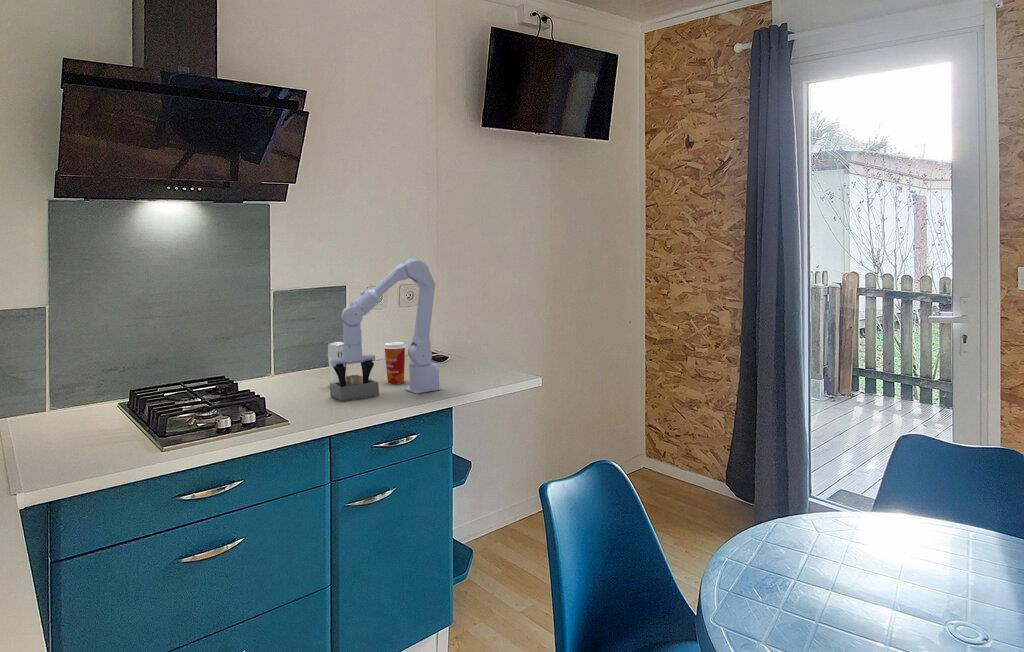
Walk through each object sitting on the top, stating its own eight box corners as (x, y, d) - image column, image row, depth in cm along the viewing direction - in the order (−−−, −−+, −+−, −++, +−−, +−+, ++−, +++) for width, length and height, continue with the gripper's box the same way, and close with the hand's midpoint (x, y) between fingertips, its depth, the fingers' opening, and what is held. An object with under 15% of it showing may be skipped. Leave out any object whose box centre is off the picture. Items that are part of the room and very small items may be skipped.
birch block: (358, 392, 225) (357, 374, 224) (363, 394, 222) (362, 376, 221) (346, 394, 223) (345, 376, 222) (351, 396, 219) (351, 378, 219)
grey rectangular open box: (367, 390, 230) (367, 377, 229) (378, 395, 223) (378, 382, 222) (330, 396, 222) (329, 383, 221) (341, 401, 215) (340, 387, 215)
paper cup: (380, 382, 242) (379, 343, 241) (399, 379, 248) (397, 340, 246) (392, 386, 237) (391, 346, 235) (411, 382, 242) (410, 343, 240)
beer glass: (325, 387, 235) (323, 344, 233) (337, 383, 242) (335, 341, 240) (341, 389, 233) (340, 345, 231) (354, 384, 239) (352, 342, 237)
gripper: (368, 340, 228) (369, 380, 229) (326, 344, 219) (328, 386, 221) (377, 342, 222) (379, 383, 224) (334, 347, 213) (336, 390, 215)
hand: (354, 385), depth 222 cm, fingers open, 7 cm apart
